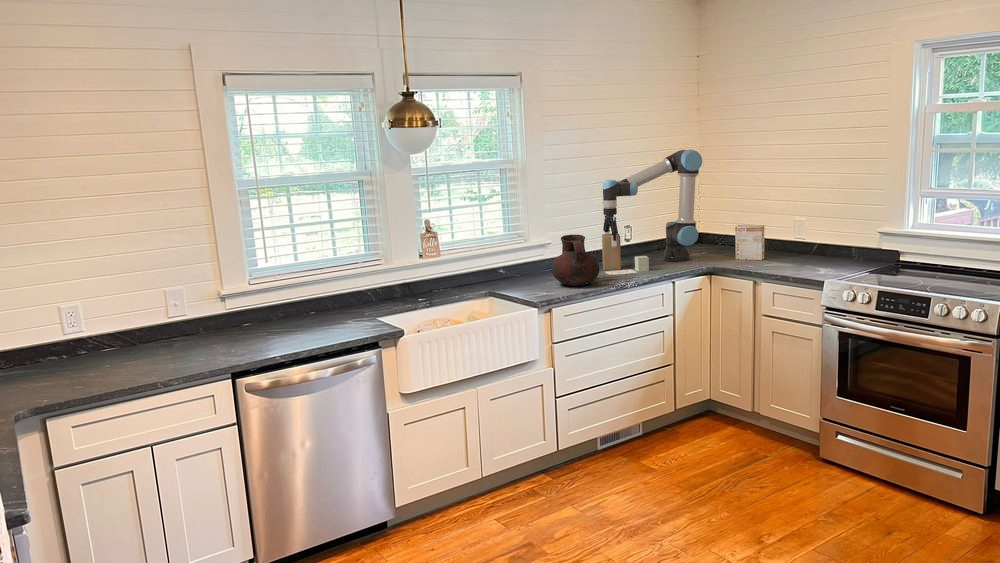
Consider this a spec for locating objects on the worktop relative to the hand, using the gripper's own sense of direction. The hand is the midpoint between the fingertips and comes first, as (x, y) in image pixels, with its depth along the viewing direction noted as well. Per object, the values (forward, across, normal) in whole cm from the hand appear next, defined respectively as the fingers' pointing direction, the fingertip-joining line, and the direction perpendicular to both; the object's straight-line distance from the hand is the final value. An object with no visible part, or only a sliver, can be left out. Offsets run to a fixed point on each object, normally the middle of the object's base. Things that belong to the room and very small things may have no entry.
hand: (610, 244), depth 422 cm
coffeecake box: (+13, +6, +82) cm, 83 cm away
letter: (+14, +13, +2) cm, 19 cm away
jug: (+15, +34, -30) cm, 47 cm away
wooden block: (+14, 0, 0) cm, 14 cm away
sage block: (+14, +13, +14) cm, 24 cm away
